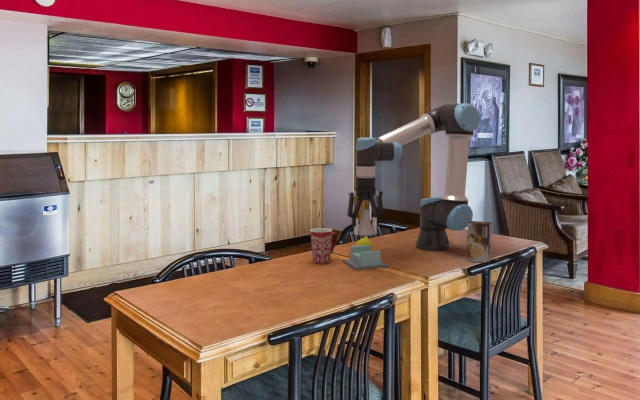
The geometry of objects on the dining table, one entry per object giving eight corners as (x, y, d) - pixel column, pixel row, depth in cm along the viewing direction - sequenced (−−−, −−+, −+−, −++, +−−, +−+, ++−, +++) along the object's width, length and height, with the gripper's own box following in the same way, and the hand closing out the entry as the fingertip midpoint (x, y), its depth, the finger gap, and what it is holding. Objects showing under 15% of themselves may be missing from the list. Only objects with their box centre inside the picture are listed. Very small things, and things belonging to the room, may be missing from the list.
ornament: (373, 253, 246) (373, 230, 245) (371, 256, 239) (371, 233, 238) (356, 252, 248) (357, 230, 246) (355, 256, 241) (355, 233, 239)
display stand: (375, 259, 234) (375, 244, 233) (388, 267, 221) (388, 251, 220) (343, 261, 230) (343, 246, 229) (354, 270, 217) (354, 253, 216)
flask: (353, 233, 226) (353, 209, 224) (368, 232, 229) (369, 208, 227) (361, 236, 219) (362, 211, 218) (377, 235, 222) (378, 210, 221)
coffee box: (491, 260, 232) (492, 221, 230) (489, 263, 226) (490, 224, 224) (469, 258, 236) (470, 220, 234) (466, 261, 230) (467, 222, 228)
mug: (319, 266, 224) (319, 232, 222) (306, 261, 231) (305, 229, 229) (343, 261, 231) (343, 229, 230) (330, 257, 239) (330, 226, 237)
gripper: (385, 175, 227) (384, 231, 230) (338, 176, 222) (338, 233, 225) (393, 177, 220) (392, 234, 223) (344, 178, 215) (344, 237, 218)
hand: (365, 233), depth 224 cm, fingers closed on flask, 7 cm apart
